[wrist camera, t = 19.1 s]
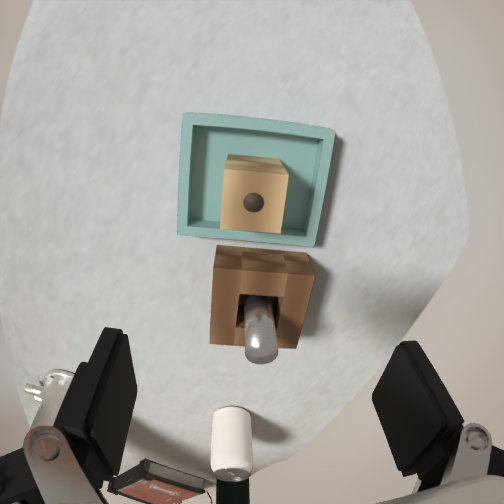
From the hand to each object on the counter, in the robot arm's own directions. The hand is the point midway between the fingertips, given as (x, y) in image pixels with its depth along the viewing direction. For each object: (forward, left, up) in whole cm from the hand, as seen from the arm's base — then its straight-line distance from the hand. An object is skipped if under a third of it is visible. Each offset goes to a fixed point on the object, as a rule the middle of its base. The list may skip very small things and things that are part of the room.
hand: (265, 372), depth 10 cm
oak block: (0, 0, -24) cm, 24 cm away
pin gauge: (+2, -13, -24) cm, 27 cm away
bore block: (+2, -13, -25) cm, 28 cm away
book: (-17, -79, -25) cm, 84 cm away
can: (+1, -40, -25) cm, 47 cm away
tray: (0, 0, -25) cm, 25 cm away
